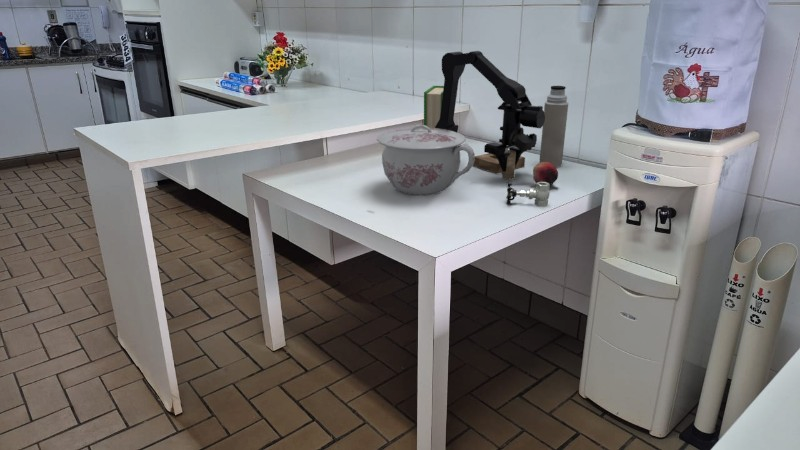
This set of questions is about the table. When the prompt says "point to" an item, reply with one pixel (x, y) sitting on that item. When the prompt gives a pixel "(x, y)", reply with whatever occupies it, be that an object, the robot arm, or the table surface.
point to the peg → (510, 166)
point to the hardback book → (432, 105)
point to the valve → (531, 194)
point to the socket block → (493, 163)
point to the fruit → (545, 173)
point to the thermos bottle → (554, 126)
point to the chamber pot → (423, 158)
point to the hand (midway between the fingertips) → (508, 170)
